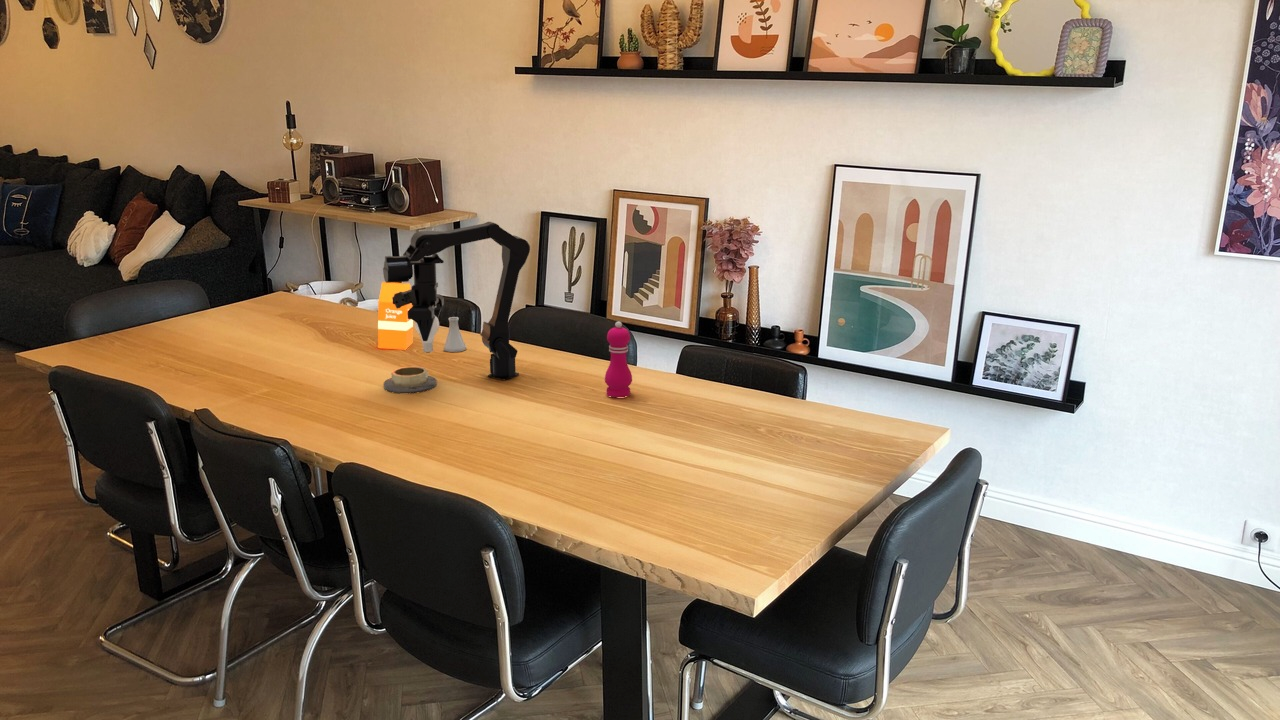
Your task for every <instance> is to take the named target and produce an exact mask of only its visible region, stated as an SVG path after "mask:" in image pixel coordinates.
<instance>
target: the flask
mask: <svg viewBox="0 0 1280 720" xmlns="http://www.w3.org/2000/svg"><path fill="white" fill-rule="evenodd" d="M448 321H449V324H448V325H449V327H448V332H447V335H446V338H445V342H444V346H443V352H449V353H456V352H457V353H460V352H463V351H465V350H467V346H466V343H465V342H464V339H463V336H462V333H461V331H460V328H459V317H458V316H452V317H451V316H450V317H448Z"/></svg>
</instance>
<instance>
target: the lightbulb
mask: <svg viewBox="0 0 1280 720" xmlns="http://www.w3.org/2000/svg"><path fill="white" fill-rule="evenodd" d="M434 316H435V315H434ZM414 328H415V331H416V332H417V333H418V335H419V336H420V340H421V343H422V351H423V352H424V353H426V354H430V353H431V352H433V351H434V346H433V345H434V344H433V343H434V340H435V336H436V334H437V332H438V330H439V328H440V321H439V317H438V318H437V317H436V316H435V319H434V322H433V325H432V328H431V331H430V334H429V337H428V340H427V341H423V339H422V336H421V333H420V330H419V327H418V324H417V323H416V322H415V321H414Z"/></svg>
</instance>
